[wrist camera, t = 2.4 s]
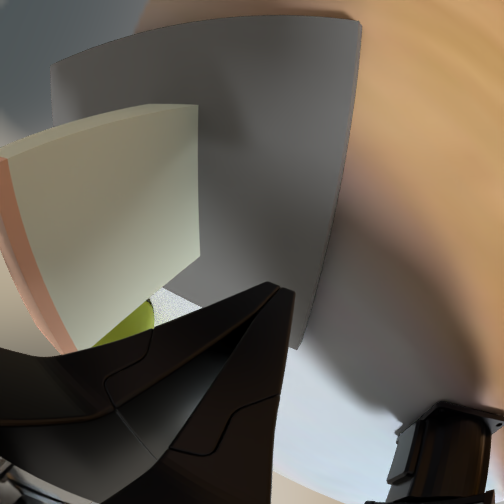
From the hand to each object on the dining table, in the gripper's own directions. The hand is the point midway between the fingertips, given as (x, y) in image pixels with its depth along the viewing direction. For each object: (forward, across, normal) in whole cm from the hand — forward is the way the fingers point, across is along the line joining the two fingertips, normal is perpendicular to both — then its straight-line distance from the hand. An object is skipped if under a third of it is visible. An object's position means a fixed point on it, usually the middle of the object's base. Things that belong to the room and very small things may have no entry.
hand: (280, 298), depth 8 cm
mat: (+6, +11, 0) cm, 12 cm away
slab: (+5, +8, 0) cm, 9 cm away
